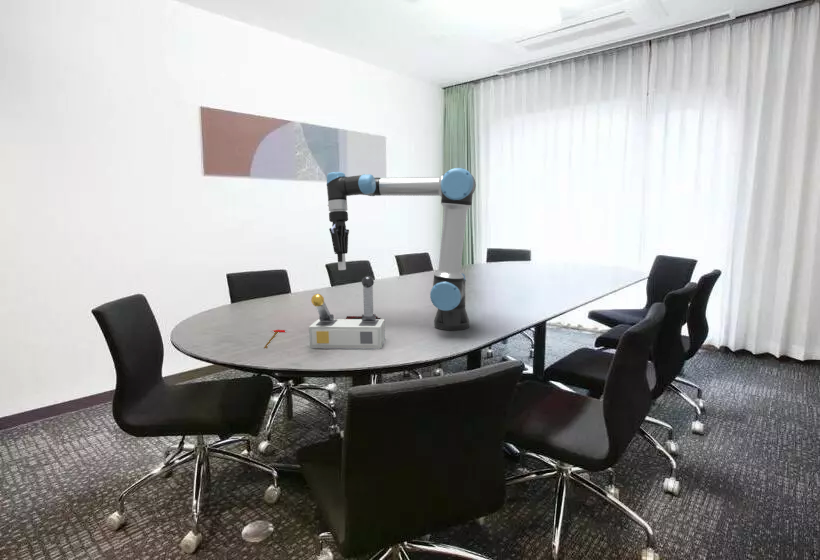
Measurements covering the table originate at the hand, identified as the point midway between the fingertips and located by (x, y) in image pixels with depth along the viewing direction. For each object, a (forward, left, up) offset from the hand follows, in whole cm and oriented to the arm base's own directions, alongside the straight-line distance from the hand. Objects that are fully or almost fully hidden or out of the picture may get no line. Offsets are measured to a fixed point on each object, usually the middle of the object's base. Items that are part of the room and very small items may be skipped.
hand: (342, 269), depth 179 cm
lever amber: (+3, +16, -17) cm, 23 cm away
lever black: (-13, +17, -17) cm, 27 cm away
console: (-5, +16, -26) cm, 31 cm away
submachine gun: (+1, -9, -27) cm, 28 cm away
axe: (+28, +11, -27) cm, 40 cm away
